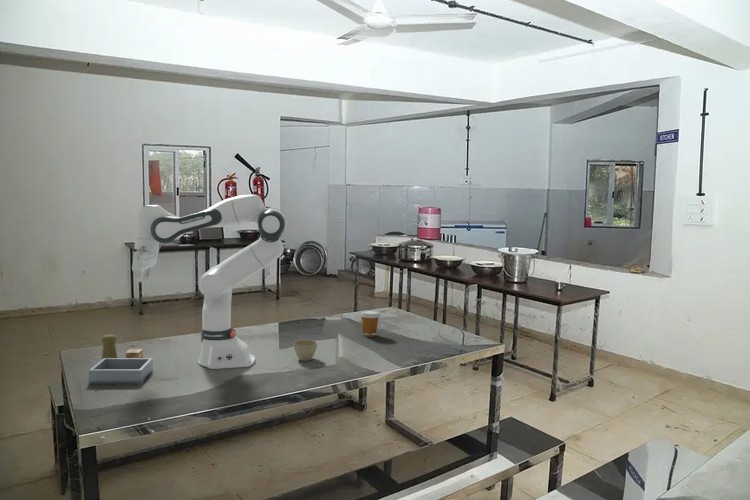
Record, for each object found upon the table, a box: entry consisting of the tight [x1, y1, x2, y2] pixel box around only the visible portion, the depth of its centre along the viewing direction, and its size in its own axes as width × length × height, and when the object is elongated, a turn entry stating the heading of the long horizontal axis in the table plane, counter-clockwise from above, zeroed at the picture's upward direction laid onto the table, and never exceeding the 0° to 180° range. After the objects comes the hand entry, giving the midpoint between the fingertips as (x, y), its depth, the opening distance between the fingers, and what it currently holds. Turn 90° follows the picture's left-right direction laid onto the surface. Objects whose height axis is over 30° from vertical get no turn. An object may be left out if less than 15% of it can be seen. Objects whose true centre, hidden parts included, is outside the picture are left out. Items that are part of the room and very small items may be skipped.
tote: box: [88, 357, 154, 385], centre depth 204 cm, size 18×14×5 cm
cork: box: [101, 334, 118, 360], centre depth 220 cm, size 6×6×11 cm
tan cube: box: [125, 348, 144, 358], centre depth 221 cm, size 5×5×5 cm
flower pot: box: [293, 339, 318, 362], centre depth 233 cm, size 10×10×7 cm
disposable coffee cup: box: [360, 309, 381, 338], centre depth 273 cm, size 10×10×12 cm
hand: (143, 279), depth 218 cm, fingers open, 8 cm apart
